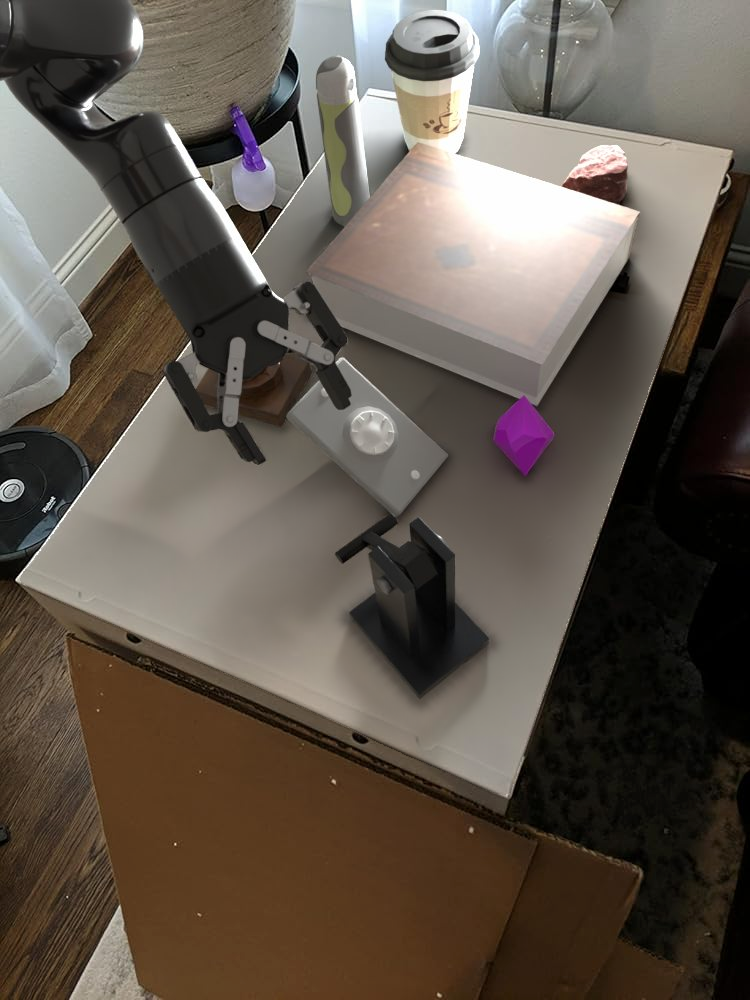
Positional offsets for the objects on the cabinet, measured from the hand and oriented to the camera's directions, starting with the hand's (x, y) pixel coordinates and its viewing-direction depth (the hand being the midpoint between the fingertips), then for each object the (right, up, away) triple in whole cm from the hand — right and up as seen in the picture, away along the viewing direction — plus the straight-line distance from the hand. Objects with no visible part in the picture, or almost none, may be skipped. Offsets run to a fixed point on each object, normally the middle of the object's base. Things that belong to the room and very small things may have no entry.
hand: (303, 434), depth 70 cm
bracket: (+10, -17, +7) cm, 21 cm away
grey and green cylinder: (+3, +30, +36) cm, 47 cm away
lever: (+8, -11, -1) cm, 13 cm away
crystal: (+21, 0, +16) cm, 26 cm away
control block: (-7, +7, +23) cm, 25 cm away
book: (+17, +19, +28) cm, 38 cm away
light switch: (+6, -1, +17) cm, 18 cm away
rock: (+33, +32, +35) cm, 57 cm away
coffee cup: (+14, +41, +42) cm, 61 cm away
